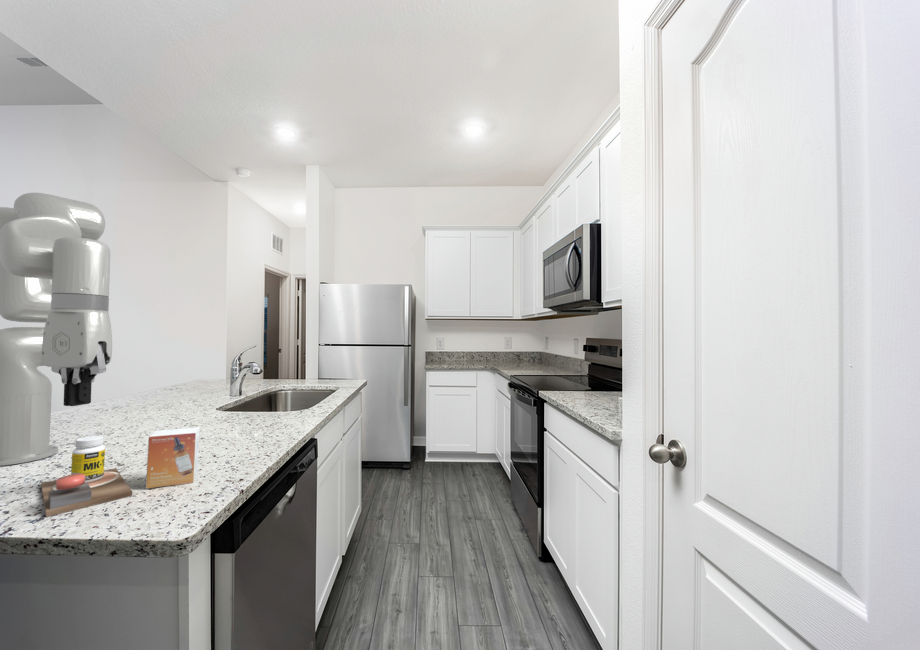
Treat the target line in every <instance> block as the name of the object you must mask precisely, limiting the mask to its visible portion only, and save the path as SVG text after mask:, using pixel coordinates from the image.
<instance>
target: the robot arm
mask: <svg viewBox="0 0 920 650" xmlns="http://www.w3.org/2000/svg"><path fill="white" fill-rule="evenodd" d="M105 228H106V219H105V216H104V214H103V212H102V211H101V210H100V209H99V208H98V207H97V206H96V205H94V204H92V203H88V202H84V201H80V200H75V199H71V198H66V197H61V196H57V195H54V194H49V193H43V192H28V193H24V194H21V195H19V196H18V197H17V198H16V199H15V200H14V203H13V207H8V206H7V207H6V206H5V207H3V206H0V316H1V318H3V319H4V320H7V321H10V322H19V323H42V324H43V323H45V324H44V327H43V326H42V327H41V326H40V327H39V326H37V327H35V326H30V327H29V326H25V327H24V326H16V327H15V326H14V327H13V326H12V327H6V328H5V327H4V328H2V329H0V467H1V466H9V465H10V466H11V465H19V464H24V463H29V462H34V461H37V460H43V459H45V458H49V457H51V456H53V455H55V454H57V453H58V452H59V447H58V446H57V445H50V437H51V417H52V416H51V414H52V391H53V390H52V389H53V387H52V386H53V385H52V381H51V380H50V378H49V377H48V376H46V374H44V373H42V372H41V371H40V370H39V369H38V367H48V368H50V367H51V371H52V372H53V373H56V374H59V375H60V379H61V380H60V381H61V383H62V384H64V385H63V407H64V406H65V407H78V406H83V405H89V404H91V402H92V383H94V382H95V378H96V376H97V375H100V374H103V373H106V371H107V366H106V365H109V364H110V362H111V361H112V357H113V356H112V355H113V334H112V324H111V317H110V314H109V308H110V307H109V306H110V305H109V303H110V273H111V271H110V270H111V250H110V247H109V245H108V244H106V243H105V242H103V241H100V238H101V237H102V236H103V234H104V231H105Z"/></svg>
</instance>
